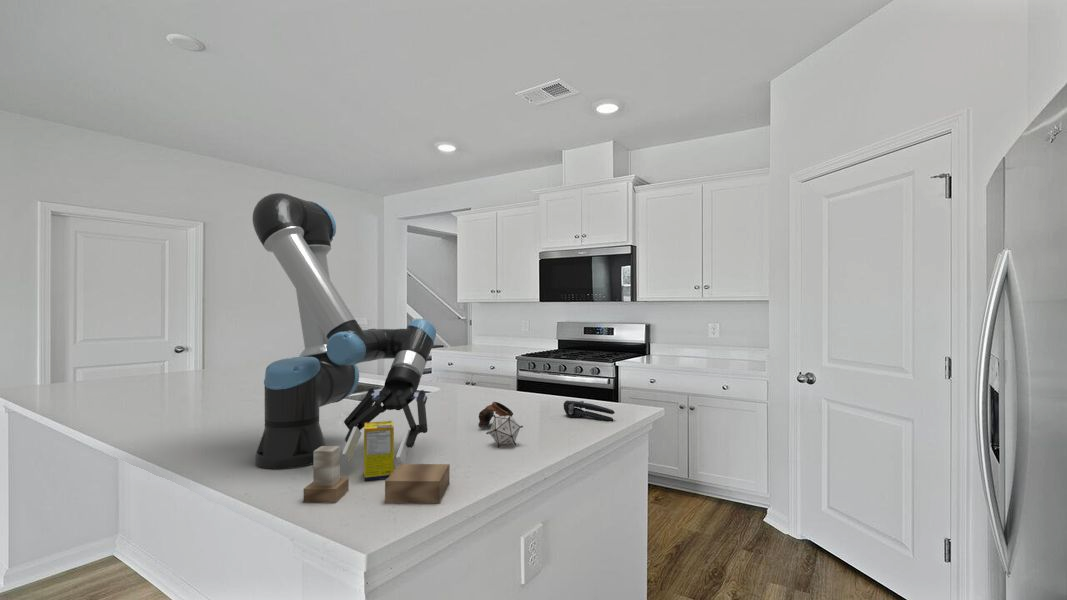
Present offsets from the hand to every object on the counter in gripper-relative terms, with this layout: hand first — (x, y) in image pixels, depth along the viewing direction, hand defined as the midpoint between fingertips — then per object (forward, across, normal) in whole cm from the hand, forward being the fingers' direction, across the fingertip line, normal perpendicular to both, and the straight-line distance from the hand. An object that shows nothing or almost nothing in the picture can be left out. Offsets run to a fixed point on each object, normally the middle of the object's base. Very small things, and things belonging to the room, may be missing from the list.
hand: (372, 458), depth 105 cm
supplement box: (+1, 0, -5) cm, 5 cm away
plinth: (+7, -12, +1) cm, 14 cm away
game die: (-18, -20, -25) cm, 37 cm away
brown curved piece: (-32, -12, -38) cm, 51 cm away
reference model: (+10, +4, +4) cm, 12 cm away
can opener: (-44, -39, -50) cm, 77 cm away
